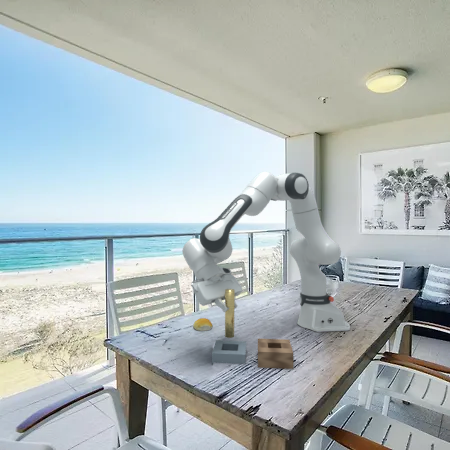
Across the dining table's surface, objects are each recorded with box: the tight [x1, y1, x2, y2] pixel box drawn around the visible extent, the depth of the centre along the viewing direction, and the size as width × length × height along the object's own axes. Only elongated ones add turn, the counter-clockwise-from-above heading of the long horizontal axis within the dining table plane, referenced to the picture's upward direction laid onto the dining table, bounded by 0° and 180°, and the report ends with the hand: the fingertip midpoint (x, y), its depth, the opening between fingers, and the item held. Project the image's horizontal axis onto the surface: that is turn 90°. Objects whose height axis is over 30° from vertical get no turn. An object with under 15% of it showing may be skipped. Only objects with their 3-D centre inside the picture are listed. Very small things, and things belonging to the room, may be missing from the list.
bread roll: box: [192, 317, 213, 332], centre depth 139 cm, size 8×9×4 cm
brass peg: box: [224, 289, 236, 339], centre depth 108 cm, size 3×3×16 cm
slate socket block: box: [211, 340, 247, 366], centre depth 108 cm, size 11×11×4 cm
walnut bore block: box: [257, 337, 294, 370], centre depth 104 cm, size 11×11×6 cm
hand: (231, 309), depth 107 cm, fingers closed on brass peg, 3 cm apart
